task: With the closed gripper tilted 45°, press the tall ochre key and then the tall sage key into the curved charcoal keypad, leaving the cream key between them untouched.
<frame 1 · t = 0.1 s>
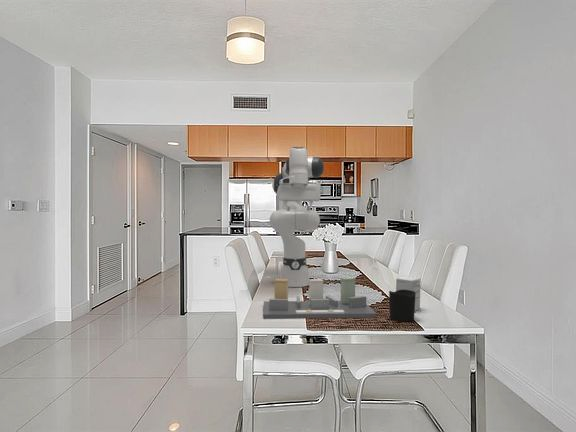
hand: (298, 210, 200), 39 cm above the table, tool pointing down, fingers open, 8 cm apart
keypad console: (317, 310, 171), on the table
supplement box: (407, 309, 175), on the table
pen holder: (401, 319, 161), on the table
key sage: (347, 290, 178), point 7 cm above the table, slide at 0.0 cm
key ochre: (281, 292, 174), point 7 cm above the table, slide at 0.0 cm
key cream: (316, 292, 174), point 7 cm above the table, slide at 0.0 cm
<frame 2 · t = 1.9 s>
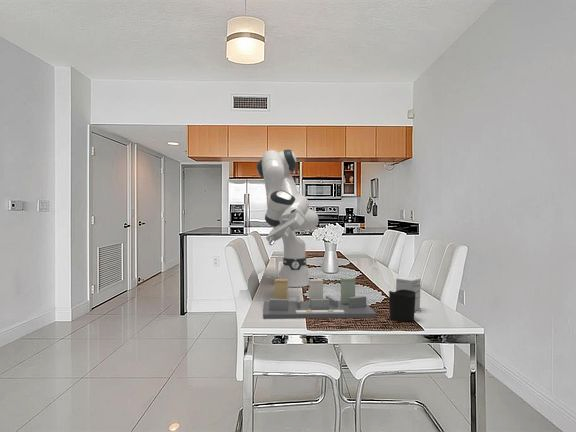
hand: (277, 240, 182), 27 cm above the table, tool tilted 55°, fingers open, 8 cm apart
nothing on the table moved.
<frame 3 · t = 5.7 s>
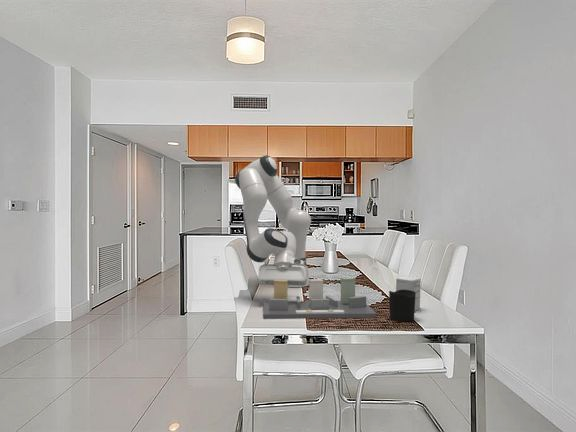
hand: (280, 292, 175), 6 cm above the table, tool tilted 45°, fingers closed, pressing on key ochre
key ochre: (280, 292, 172), point 7 cm above the table, slide at 1.2 cm, touching gripper
everything else where it was.
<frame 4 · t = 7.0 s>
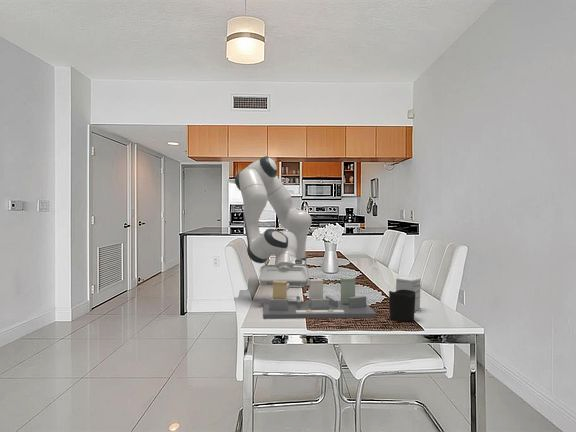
hand: (282, 293, 173), 6 cm above the table, tool tilted 45°, fingers closed
key ochre: (279, 294, 170), point 7 cm above the table, slide at 4.1 cm
everything else where it was.
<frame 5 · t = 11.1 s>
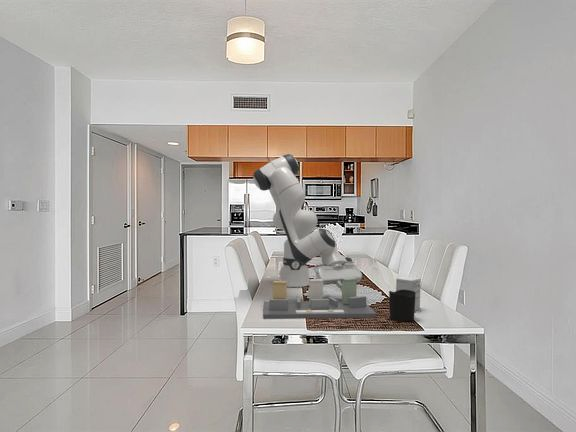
hand: (345, 290, 179), 6 cm above the table, tool tilted 45°, fingers closed, pressing on key sage
key sage: (349, 290, 177), point 7 cm above the table, slide at 0.9 cm, touching gripper
everything else where it was.
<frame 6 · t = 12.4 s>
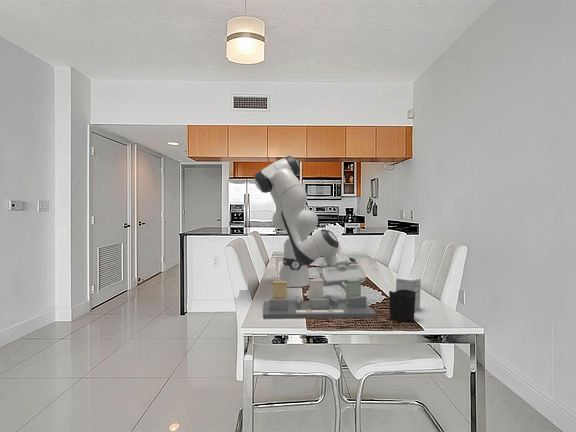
hand: (350, 291, 177), 6 cm above the table, tool tilted 45°, fingers closed
key sage: (353, 292, 174), point 7 cm above the table, slide at 4.1 cm
everything else where it was.
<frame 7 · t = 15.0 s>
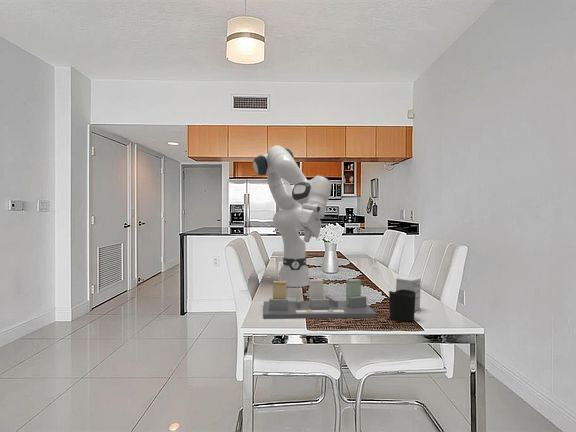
hand: (306, 241, 185), 26 cm above the table, tool tilted 20°, fingers closed
nothing on the table moved.
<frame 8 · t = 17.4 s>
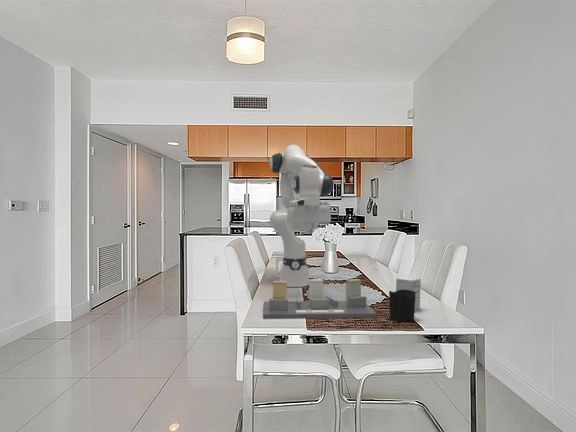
hand: (309, 233, 191), 29 cm above the table, tool pointing down, fingers closed
nothing on the table moved.
at the end: key ochre slide at 4.1 cm; key sage slide at 4.1 cm; key cream slide at 0.0 cm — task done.
